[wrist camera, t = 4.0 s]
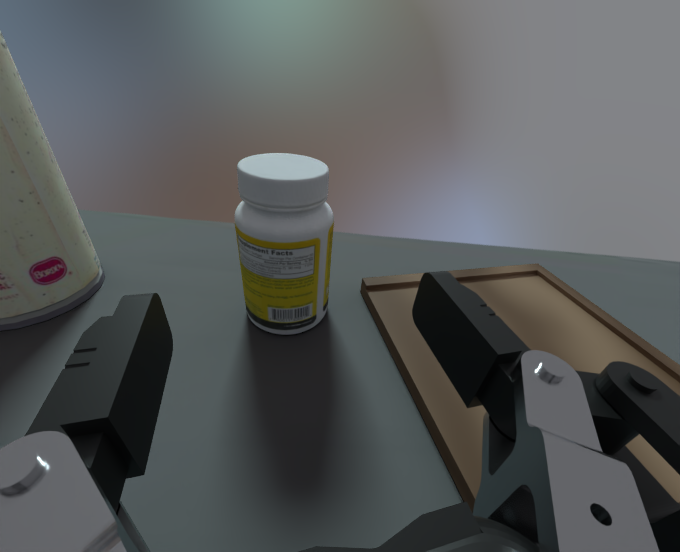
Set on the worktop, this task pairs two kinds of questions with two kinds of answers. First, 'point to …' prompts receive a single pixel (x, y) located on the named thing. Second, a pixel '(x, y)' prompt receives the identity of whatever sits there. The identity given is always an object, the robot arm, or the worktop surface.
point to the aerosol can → (36, 218)
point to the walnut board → (535, 331)
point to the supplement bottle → (284, 240)
